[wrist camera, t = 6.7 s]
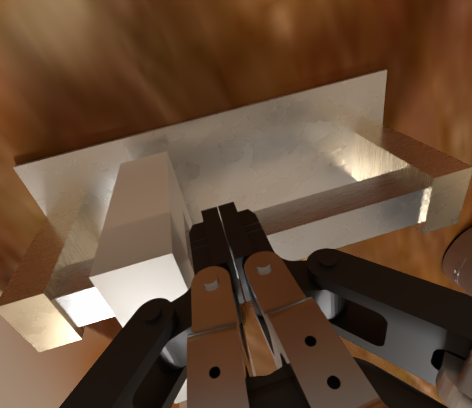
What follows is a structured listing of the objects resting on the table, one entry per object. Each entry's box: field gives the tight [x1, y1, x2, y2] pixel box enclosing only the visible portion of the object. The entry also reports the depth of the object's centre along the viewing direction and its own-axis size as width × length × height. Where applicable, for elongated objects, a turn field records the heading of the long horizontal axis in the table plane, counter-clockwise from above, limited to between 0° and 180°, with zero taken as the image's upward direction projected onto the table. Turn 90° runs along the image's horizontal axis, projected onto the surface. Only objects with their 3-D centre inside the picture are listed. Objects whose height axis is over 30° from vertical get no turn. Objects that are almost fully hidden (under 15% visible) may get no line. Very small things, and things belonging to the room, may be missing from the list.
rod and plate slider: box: [0, 69, 472, 352], centre depth 20 cm, size 26×12×8 cm, turn 101°
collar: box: [89, 151, 194, 404], centre depth 17 cm, size 3×10×10 cm, turn 11°
